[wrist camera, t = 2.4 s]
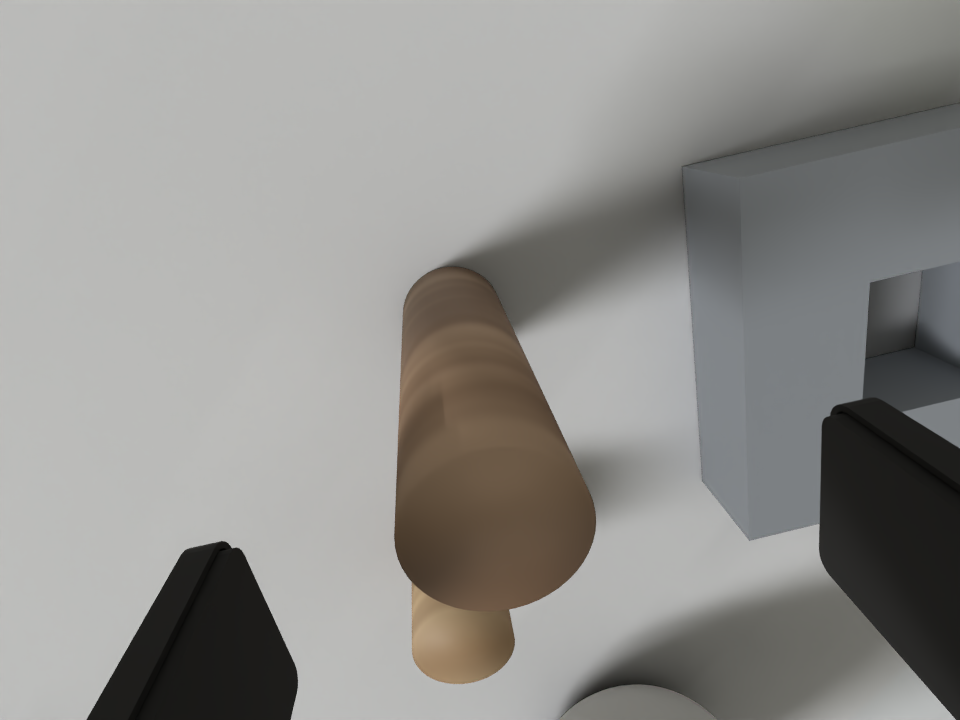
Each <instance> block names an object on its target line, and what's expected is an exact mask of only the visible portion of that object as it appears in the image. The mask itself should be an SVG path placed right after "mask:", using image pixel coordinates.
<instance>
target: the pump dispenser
mask: <svg viewBox="0 0 960 720" xmlns="http://www.w3.org/2000/svg"><path fill="white" fill-rule="evenodd" d="M559 720H717V719H716V718H715V717H714V716H713V715H712V714H711V713H710V712H708V711H707V710H706V709H705V708H703V707H702V706H701V705H699V704H698V703H696V702H695V701H693V700H692V699H690V698H688V697H686V696H684V695H682V694H680V693H677V692H675V691H672V690H669V689H666V688H662V687H658V686H652V685H640V684H636V685H623V686H617V687H612V688H609V689H605V690H602V691H600V692H597V693H595V694H592V695H590V696H588V697H587V698H585V699H583V700H581V701H580V702H578V703H577V704H576V705H574V706H573V707H572V708H570V709H569V710H568V711H567V712H566V713H565V714H564V715H563V716H562V717H561V718H560V719H559Z"/></svg>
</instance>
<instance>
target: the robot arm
mask: <svg viewBox="0 0 960 720" xmlns="http://www.w3.org/2000/svg"><path fill="white" fill-rule="evenodd" d="M819 553H820V557H821V561H822V563H823V565H824V567H825V569H826V571H827V572H828V574H829V575H830V576H831V577H832V578H833V580H834V581H835V582H836V583H837V584H838V585H839V586H840V588H841V589H842V590H843V591H844V592H845V593H846V594H847V596H848V597H849V598H850V599H851V600H852V601H853V602H854V604H855V605H856V606H857V607H858V608H859V609H860V610H861V612H862V613H863V614H864V615H865V616H866V617H867V618H868V620H869V621H870V622H871V623H872V624H873V625H874V626H875V628H876V629H877V630H878V631H879V632H880V633H881V634H882V636H883V637H884V638H885V639H886V640H887V641H888V642H889V644H890V645H891V646H892V647H893V648H894V649H895V650H896V652H897V653H898V654H899V655H900V656H901V657H902V658H903V660H904V661H905V662H906V663H907V664H908V665H909V666H910V668H911V669H912V670H913V671H914V672H915V673H916V674H917V676H918V677H919V678H920V679H921V680H922V681H923V682H924V684H925V685H926V686H927V687H928V688H929V689H930V690H931V692H932V693H933V694H934V695H935V696H936V697H937V698H938V700H939V701H940V702H941V703H942V704H943V705H944V706H945V708H946V709H947V710H948V711H949V712H950V713H951V714H952V716H953V717H954V718H955V719H956V720H960V448H959V447H957V446H955V445H954V444H952V443H951V442H949V441H947V440H946V439H944V438H942V437H941V436H939V435H938V434H936V433H934V432H933V431H931V430H930V429H928V428H926V427H925V426H923V425H922V424H920V423H918V422H917V421H915V420H914V419H912V418H910V417H909V416H907V415H905V414H904V413H902V412H901V411H899V410H897V409H896V408H894V407H893V406H891V405H889V404H888V403H886V402H885V401H883V400H881V399H879V398H876V397H870V398H866V399H861V400H857V401H852V402H848V403H843V404H839V405H836V406H834V407H833V408H832V410H831V412H830V416H828V417H826V418H824V420H823V422H822V433H821V482H820V531H819ZM297 688H298V677H297V670H296V667H295V664H294V662H293V660H292V657H291V655H290V653H289V651H288V649H287V647H286V644H285V642H284V640H283V638H282V636H281V634H280V631H279V629H278V627H277V625H276V623H275V620H274V618H273V616H272V614H271V612H270V610H269V607H268V605H267V603H266V601H265V599H264V597H263V594H262V592H261V590H260V588H259V586H258V584H257V581H256V579H255V577H254V575H253V573H252V571H251V568H250V566H249V564H248V562H247V560H246V557H245V555H244V554H243V552H242V550H240V549H239V548H231V546H230V545H229V544H228V543H227V542H224V541H221V542H216V543H212V544H207V545H203V546H198V547H193V548H189V549H187V550H185V551H184V552H183V553H182V554H181V556H180V558H179V559H178V561H177V563H176V565H175V566H174V568H173V570H172V572H171V573H170V575H169V577H168V579H167V580H166V582H165V584H164V586H163V587H162V589H161V591H160V593H159V594H158V596H157V598H156V599H155V601H154V603H153V605H152V606H151V608H150V610H149V612H148V613H147V615H146V617H145V619H144V620H143V622H142V624H141V626H140V627H139V629H138V631H137V633H136V634H135V636H134V638H133V640H132V641H131V643H130V645H129V647H128V648H127V650H126V652H125V654H124V655H123V657H122V659H121V661H120V662H119V664H118V666H117V668H116V669H115V671H114V673H113V675H112V676H111V678H110V680H109V682H108V683H107V685H106V687H105V688H104V690H103V692H102V694H101V695H100V697H99V699H98V701H97V702H96V704H95V706H94V708H93V709H92V711H91V713H90V715H89V716H88V718H87V720H290V719H291V715H292V711H293V707H294V702H295V698H296V694H297Z"/></svg>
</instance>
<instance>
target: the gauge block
mask: <svg viewBox="0 0 960 720" xmlns="http://www.w3.org/2000/svg"><path fill="white" fill-rule="evenodd" d="M682 172H683V187H684V203H685V218H686V234H687V249H688V265H689V281H690V296H691V312H692V327H693V343H694V358H695V374H696V390H697V405H698V421H699V436H700V452H701V467H702V481H703V483H704V484H705V485H706V486H707V488H708V489H709V490H710V491H711V493H712V494H713V495H714V496H715V498H716V499H717V500H718V502H719V503H720V504H721V505H722V507H723V508H724V509H725V510H726V512H727V513H728V514H729V515H730V517H731V518H732V519H733V521H734V522H735V523H736V524H737V526H738V527H739V528H740V529H741V531H742V532H743V533H744V534H745V536H746V537H747V538H748V540H749V541H750V540H754V539H758V538H762V537H766V536H771V535H775V534H779V533H783V532H787V531H791V530H795V529H799V528H804V527H808V526H812V525H816V524H820V482H821V433H822V422H823V420H824V418H826V417H828V416H830V412H831V410H832V408H833V407H834V406H836V405H839V404H843V403H848V402H852V401H857V400H861V399H866V398H870V397H876V398H879V399H881V400H883V401H885V402H886V403H888V404H889V405H891V406H893V407H894V408H896V409H897V410H899V411H901V412H902V413H904V414H905V415H907V416H909V417H910V418H912V419H914V420H915V421H917V422H918V423H920V424H922V425H923V426H925V427H926V428H928V429H930V430H931V431H933V432H934V433H936V434H938V435H939V436H941V437H942V438H944V439H946V440H947V441H949V442H951V443H952V444H954V445H955V446H957V447H959V448H960V103H957V104H953V105H948V106H944V107H940V108H935V109H931V110H927V111H922V112H918V113H914V114H909V115H905V116H901V117H896V118H892V119H887V120H883V121H879V122H874V123H870V124H866V125H861V126H857V127H853V128H848V129H844V130H840V131H835V132H831V133H827V134H822V135H818V136H814V137H809V138H805V139H800V140H796V141H792V142H787V143H783V144H779V145H774V146H770V147H766V148H761V149H757V150H753V151H748V152H744V153H740V154H735V155H731V156H727V157H722V158H718V159H713V160H709V161H705V162H700V163H696V164H692V165H687V166H683V167H682ZM921 270H922V280H921V290H920V300H919V310H918V320H917V330H916V340H915V347H914V348H910V349H906V350H901V351H897V352H893V353H889V354H885V355H880V356H876V357H872V358H868V359H865V352H866V337H867V321H868V306H869V290H870V282H875V281H879V280H883V279H887V278H892V277H896V276H900V275H904V274H909V273H913V272H917V271H921Z"/></svg>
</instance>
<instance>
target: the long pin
mask: <svg viewBox="0 0 960 720" xmlns="http://www.w3.org/2000/svg"><path fill="white" fill-rule="evenodd" d="M595 528H596V514H595V508H594V503H593V500H592V497H591V495H590V493H589V490H588V488H587V486H586V484H585V482H584V480H583V478H582V475H581V473H580V471H579V469H578V467H577V465H576V463H575V460H574V458H573V456H572V454H571V452H570V450H569V448H568V446H567V443H566V441H565V439H564V437H563V435H562V433H561V431H560V428H559V426H558V424H557V422H556V420H555V418H554V416H553V414H552V411H551V409H550V407H549V405H548V403H547V401H546V399H545V396H544V394H543V392H542V390H541V388H540V386H539V384H538V382H537V379H536V377H535V375H534V373H533V371H532V369H531V367H530V364H529V362H528V360H527V358H526V356H525V354H524V352H523V349H522V347H521V345H520V343H519V341H518V339H517V337H516V335H515V332H514V330H513V328H512V326H511V324H510V322H509V320H508V317H507V315H506V313H505V311H504V309H503V307H502V305H501V303H500V300H499V298H498V296H497V294H496V292H495V290H494V289H493V287H492V286H491V284H490V283H489V282H488V281H487V280H486V279H485V278H484V277H482V276H481V275H480V274H478V273H476V272H474V271H472V270H469V269H466V268H462V267H444V268H439V269H436V270H433V271H431V272H429V273H427V274H425V275H424V276H422V277H421V278H420V279H419V280H418V281H417V282H416V283H415V284H414V285H413V286H412V288H411V289H410V291H409V293H408V294H407V297H406V299H405V303H404V307H403V326H402V352H401V378H400V404H399V430H398V455H397V481H396V507H395V533H394V539H395V549H396V553H397V557H398V560H399V562H400V564H401V567H402V569H403V570H404V572H405V573H406V575H407V577H408V578H409V579H410V580H411V581H412V582H413V584H414V585H415V586H416V587H418V588H419V589H420V590H421V591H422V592H423V593H425V594H427V595H428V596H430V597H431V598H433V599H435V600H437V601H439V602H441V603H443V604H446V605H449V606H452V607H455V608H459V609H464V610H470V611H486V612H491V611H502V610H508V609H513V608H517V607H520V606H524V605H527V604H530V603H532V602H534V601H537V600H539V599H541V598H543V597H545V596H547V595H549V594H550V593H552V592H553V591H555V590H556V589H558V588H559V587H560V586H562V585H563V584H564V583H565V582H566V581H568V580H569V579H570V578H571V577H572V575H573V574H574V573H575V572H576V571H577V570H578V569H579V567H580V566H581V565H582V563H583V562H584V560H585V558H586V556H587V555H588V553H589V550H590V548H591V545H592V543H593V539H594V535H595Z"/></svg>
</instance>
